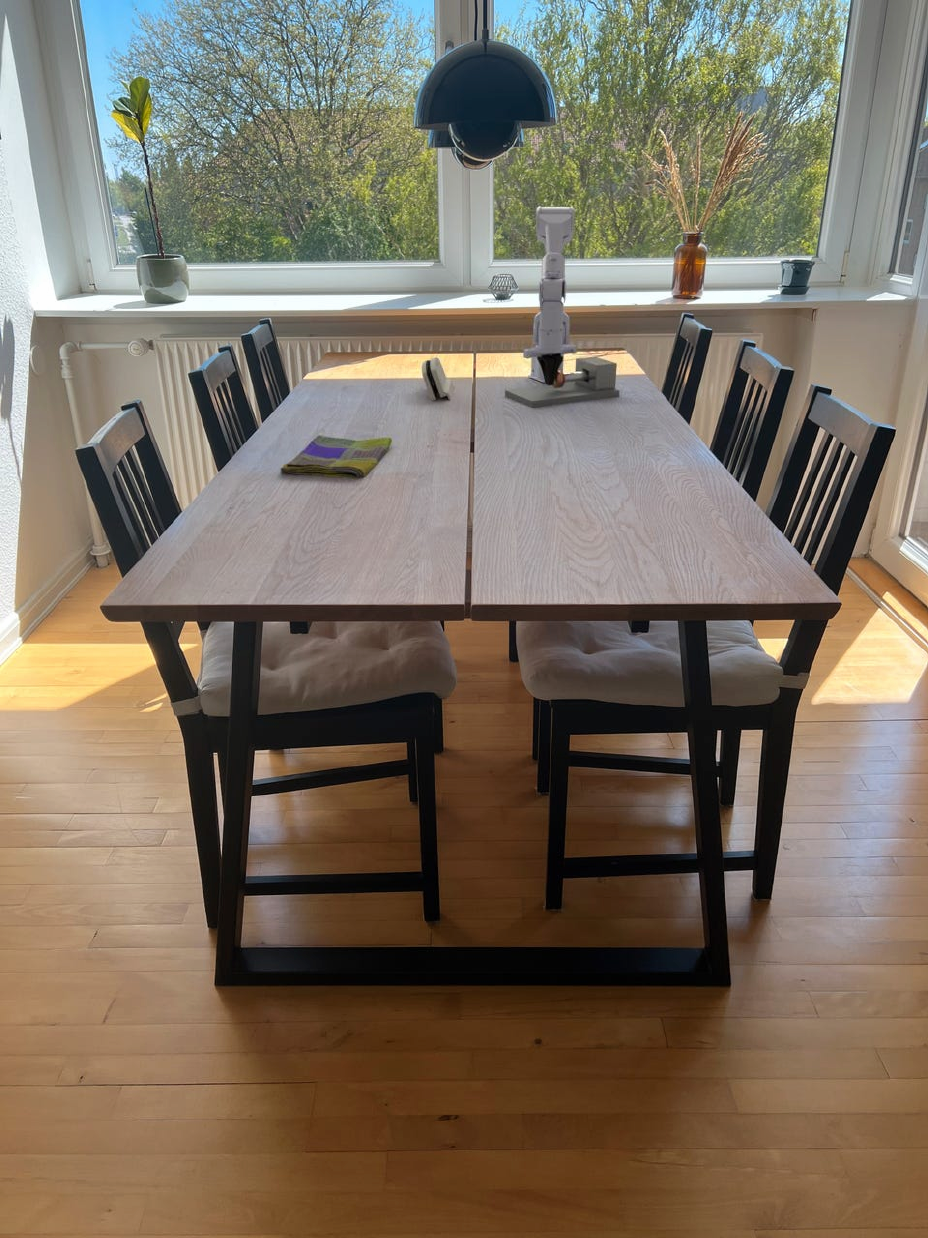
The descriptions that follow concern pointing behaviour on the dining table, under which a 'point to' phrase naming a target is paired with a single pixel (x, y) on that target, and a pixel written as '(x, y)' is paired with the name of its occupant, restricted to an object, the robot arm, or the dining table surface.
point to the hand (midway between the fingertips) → (549, 384)
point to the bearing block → (597, 373)
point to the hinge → (436, 379)
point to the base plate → (557, 394)
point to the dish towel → (339, 457)
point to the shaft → (569, 378)
